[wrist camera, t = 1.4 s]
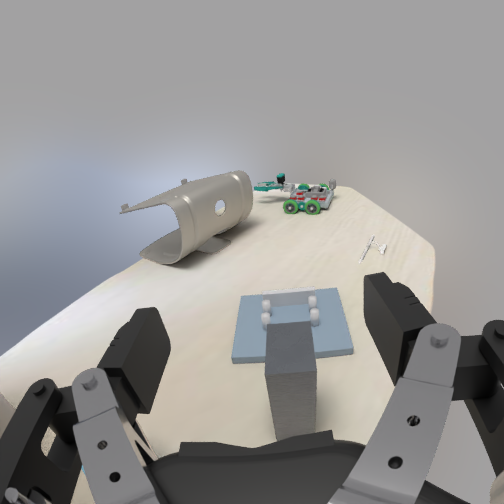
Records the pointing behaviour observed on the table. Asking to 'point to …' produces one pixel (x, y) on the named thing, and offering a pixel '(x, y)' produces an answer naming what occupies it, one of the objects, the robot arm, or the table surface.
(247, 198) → the curved metal cover
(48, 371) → the table surface
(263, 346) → the pin tray
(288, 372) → the dark grey rectangular block
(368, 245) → the picture light
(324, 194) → the robot kit
